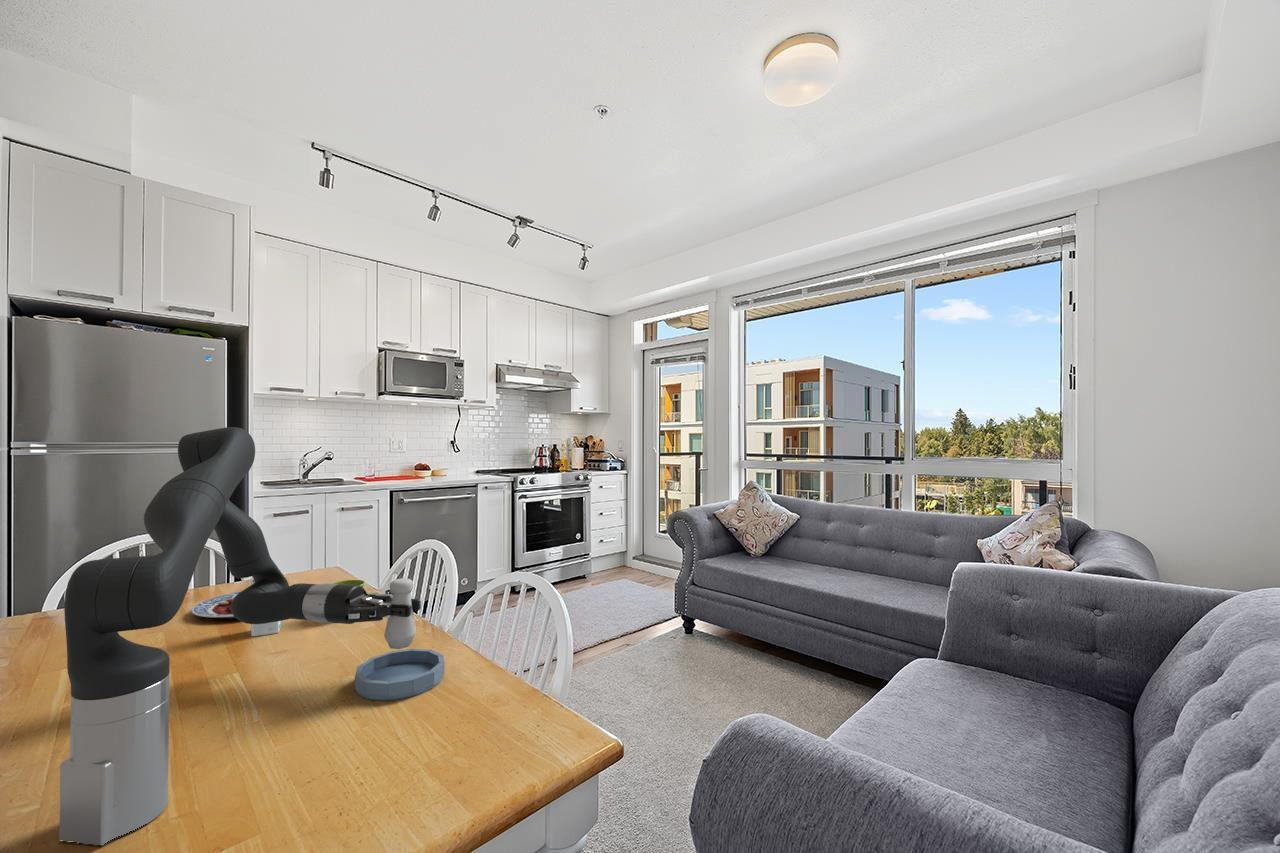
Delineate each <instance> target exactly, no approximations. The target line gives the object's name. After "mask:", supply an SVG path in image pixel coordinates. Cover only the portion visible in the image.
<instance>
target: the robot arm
mask: <svg viewBox="0 0 1280 853" xmlns="http://www.w3.org/2000/svg"><path fill="white" fill-rule="evenodd" d="M177 455H178V461H179V464H180V466H181V468H182V472H181V473H179V474H177V475H176V476H174V477H172V478H171V479H169V480H168V481H166V482H165V484H163V485H162V487H160V489H159V490H158V491H157V493H156V494H155V495H154V497H153V498H152V499H151V500H150V502H149V504H148V505H147V507H146V508H145V511H144V514H143V524H144V527H145V530H146V532H147V533H148V535H149V537H150V538H151V539H152V540H153V542H154V543H155V544H156V545H157V546H158V547H159V549H161V550H162V551H161V552H160V553H158V554H155V555H142V556H130V557H129V556H128V557H126V556H125V557H114V558H113V557H112V558H100V559H93V560H88V561H85V562H82V564H80V565H79V566H77V567H76V568H75V569H74V570H73V572H72V574H71V576H70V577H69V580H68V583H67V586H66V589H65V593H64V594H65V595H64V605H63V606H64V607H63V608H64V609H63V610H64V626H65V638H66V639H65V640H66V656H67V657H66V660H67V661H66V663H67V664H66V666H67V676H68V678H69V683H70V726H69V727H70V732H69V733H70V734H69V735H70V736H69V740H70V741H69V757H68V758H67V759H65V760H63V761H62V762H61V763H60V765H59V771H60V772H59V826H58V828H59V830H58V831H59V832H58V833H59V834H58V841H59V840H63V841H73V842H79V843H83V844H82V845H88V844H97V845H102V846H105V845H106V844H108V843H109V842H111V841H113V840H114V838H115V839H117V838H119V837H118V836H120V837H122V836H125V835H127V834H126V833H128V834H130V833H131V832H130V831H132V830H134V831H136V830H138V829H140V828H142V827H144V826H145V824H146V825H147V824H149V823H150V822H152V821H153V820H155V819H156V818H157V817H159V816H160V815H161V814H162V813H163V812H164V810H165V809H166V808H167V806H168V803H169V757H170V756H169V754H170V753H169V744H170V742H169V741H170V736H169V734H170V733H169V732H170V677H171V676H170V671H171V670H170V667H171V665H170V664H171V663H170V662H171V661H170V655H169V653H168V652H167V651H166V650H164V649H161V648H159V647H154V646H149V645H143V644H140V643H136V642H133V641H132V640H128V639H126V638H125V637H123V636H122V635H121V634H119V632H127V631H137V630H144V629H151V628H157V627H160V626H163V625H165V624H167V623H169V622H171V621H172V619H173V618H175V616H176V615H177V613H178V612H179V610H180V609H181V606H182V605H183V602H184V600H185V598H186V595H187V593H188V591H189V587H190V584H191V581H192V579H193V576H194V572H195V571H196V567H197V565H198V561H199V559H200V556H201V554H202V553H203V552H202V551H203V550H204V548H205V546H206V544H207V542H208V540H209V538H210V536H211V535H212V533H213V531H215V533H216V536H217V538H218V541H219V544H220V546H221V549H222V553H223V555H224V559H225V562H226V564H227V568H228V570H229V573H230V574H231V576H232V577H233V578H235V579H246V578H250V577H251V578H252V577H253V579H254V582H255V583H254V584H252V585H251V584H250V585H249V586H248V587H246V588H245V589H243V590H241V591H239V592H240V593H239V594H237V595H236V596H235V597H234V599H233V601H232V603H231V612H232V614H233V616H234V617H235V618H234V619H236V620H238V621H239V622H241V623H244V624H248V625H251V624H265V623H271V622H277V621H282V622H283V621H286V620H301V621H313V622H317V623H327V624H341V625H342V624H344V625H346V624H347V625H352V624H355V623H356V624H357V623H365V622H368V623H369V622H381V621H383V619H384V618H386V619H388V618H389V617H391V615H392V616H399V617H409V616H410V615H411V605H405V604H401V605H395V604H392V606H391V602H392V597H393V593H391V592H390V589H386V590H384V592H385V593H379V592H370V593H367V591H366V589H365V588H364V586H363V587H362V586H360V585H347V584H330V583H321V584H320V583H318V584H317V583H303V582H302V583H294V584H291V585H289V582H288V580H287V578H286V577H285V575H284V573H282V570H281V569H279V567H278V566H277V564H276V563H275V562H274V560H273V559H272V558H271V556H270V553H269V549H268V545H267V541H266V539H265V536H264V533H263V531H262V529H261V527H260V526H259V525H258V523H257V521H255V519H254V518H252V517H251V516H250V515H249V514H247V513H246V512H244V511H243V510H242V509H240V508H239V507H237V505H235V504H234V503H232V501H230V498H231V497H232V495H233V493H234V492H235V489H236V488H238V485H239V484H240V482H241V481H242V480H243V479H244V477H245V476H246V475H247V474H248V472H250V470H251V468H252V467H253V464H254V461H255V458H256V446H255V441H254V439H253V437H252V435H251V434H250V433H249V432H248V431H247V430H246V429H244V428H242V427H241V428H240V427H239V426H237V427H236V426H234V427H233V426H228V427H223V428H222V427H220V428H216V429H215V428H214V429H209V430H203V431H197V432H193V433H188V434H184V435H183V436H182V437H181V438H180V439H179V441H178V444H177ZM280 570H281V571H280ZM411 602H412V608H413V612H418V611H420V610H421V607H422V606H421V605H422V601H421V599H419V598H411ZM161 812H162V813H161ZM143 825H144V826H143ZM141 826H142V827H141ZM139 827H140V828H139ZM137 828H138V829H137ZM135 829H136V830H135ZM129 832H130V833H129ZM132 832H133V831H132ZM124 834H125V835H124ZM121 835H122V836H121ZM116 837H117V838H116ZM112 839H113V840H112ZM110 840H111V841H110ZM108 841H109V842H108ZM107 842H108V843H107ZM79 843H78V844H79ZM105 843H106V844H105ZM104 844H105V845H104ZM97 845H96V846H97Z"/></svg>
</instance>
